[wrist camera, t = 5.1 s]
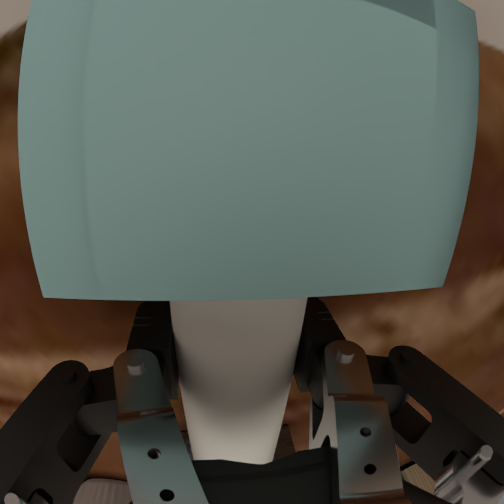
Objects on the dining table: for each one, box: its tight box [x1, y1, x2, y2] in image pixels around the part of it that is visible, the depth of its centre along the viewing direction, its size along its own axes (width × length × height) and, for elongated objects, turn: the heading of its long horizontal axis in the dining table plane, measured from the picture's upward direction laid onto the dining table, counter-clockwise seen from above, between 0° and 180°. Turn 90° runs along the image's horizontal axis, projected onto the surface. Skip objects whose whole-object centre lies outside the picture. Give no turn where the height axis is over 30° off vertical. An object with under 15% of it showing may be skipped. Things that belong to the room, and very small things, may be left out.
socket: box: [18, 0, 479, 301], centre depth 7 cm, size 8×6×6 cm
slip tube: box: [170, 297, 307, 464], centre depth 12 cm, size 4×22×4 cm, turn 177°
